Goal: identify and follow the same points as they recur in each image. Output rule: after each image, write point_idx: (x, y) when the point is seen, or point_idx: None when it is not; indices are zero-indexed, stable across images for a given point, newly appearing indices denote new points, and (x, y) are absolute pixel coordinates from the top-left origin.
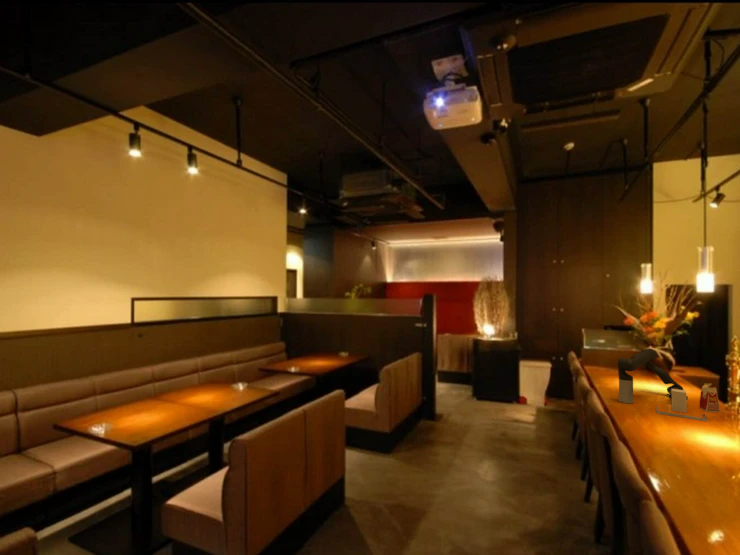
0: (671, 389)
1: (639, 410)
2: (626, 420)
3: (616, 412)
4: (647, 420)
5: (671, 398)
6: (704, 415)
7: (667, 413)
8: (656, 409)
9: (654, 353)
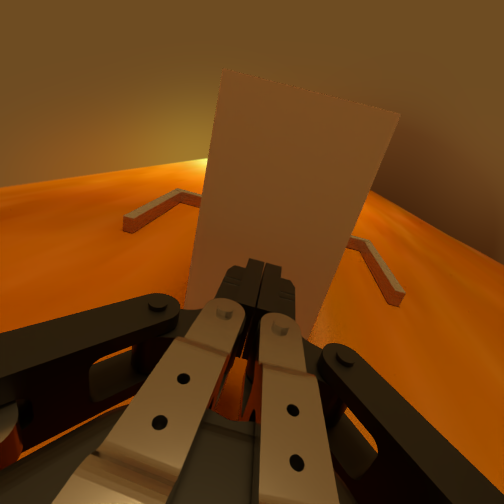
0: (394, 128)
1: (438, 271)
2: (405, 218)
3: (470, 252)
4: (366, 216)
5: (349, 435)
6: (151, 204)
7: None
8: (378, 254)
9: None
